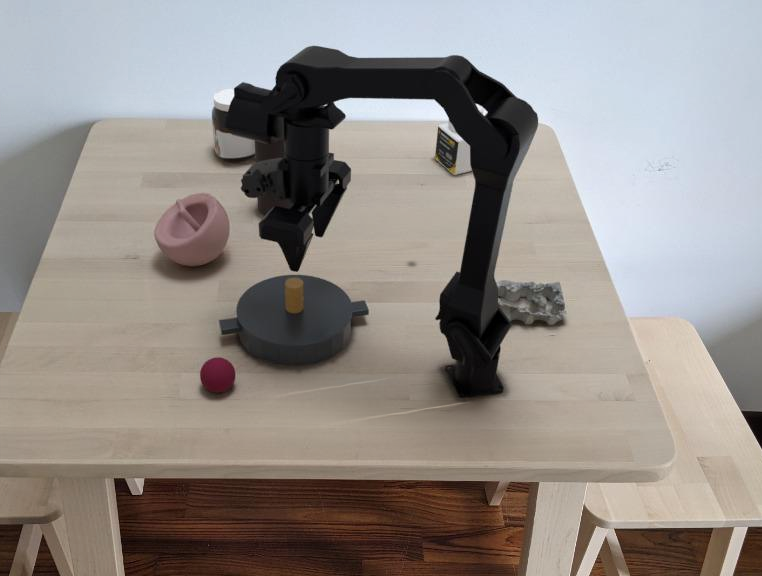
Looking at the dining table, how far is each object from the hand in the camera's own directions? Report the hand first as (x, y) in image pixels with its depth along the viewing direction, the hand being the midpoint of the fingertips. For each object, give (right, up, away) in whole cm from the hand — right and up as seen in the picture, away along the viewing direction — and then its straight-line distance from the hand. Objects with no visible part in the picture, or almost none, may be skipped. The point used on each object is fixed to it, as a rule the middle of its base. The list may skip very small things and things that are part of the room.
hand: (307, 253), depth 127 cm
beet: (-11, -18, -2) cm, 21 cm away
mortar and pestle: (-18, +2, +22) cm, 28 cm away
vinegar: (-5, +12, +33) cm, 35 cm away
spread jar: (-12, +25, +48) cm, 55 cm away
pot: (-2, -11, +7) cm, 13 cm away
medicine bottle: (+29, +23, +45) cm, 59 cm away
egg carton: (+33, -8, +11) cm, 36 cm away
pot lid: (-2, -8, +5) cm, 9 cm away
